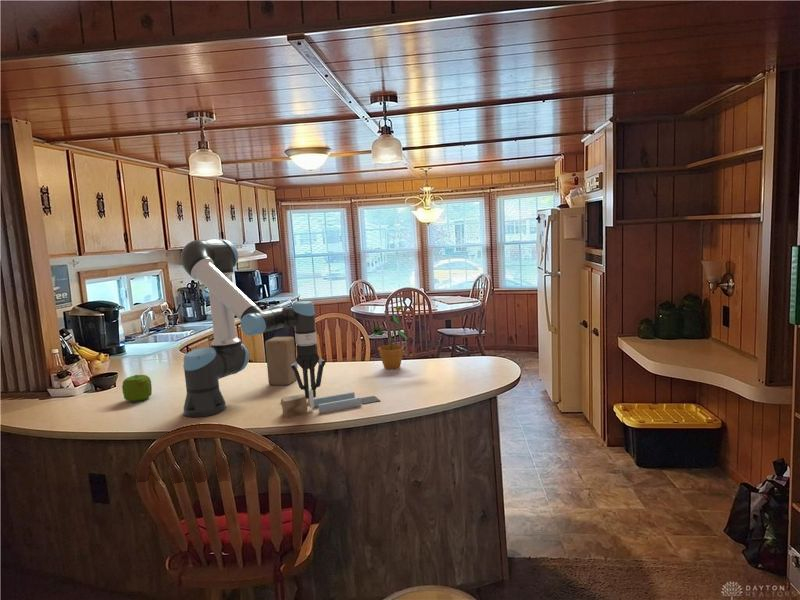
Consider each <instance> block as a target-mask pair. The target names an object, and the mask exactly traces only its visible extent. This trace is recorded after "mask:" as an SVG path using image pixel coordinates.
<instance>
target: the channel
mask: <svg viewBox="0 0 800 600" xmlns="http://www.w3.org/2000/svg"><path fill="white" fill-rule="evenodd" d="M355 396H356V395H355V392H354V391H351V392H345V393H340V394H339V393H338V394H333V395H326V396H321V397H315V398H314V407H313V408H316V407H317V408H318V414H322V413H328V412H334V411H339V410H345V409H350V408H355V407H361V406H362V403H361V398H362V397H361V396H359V397H355Z"/></svg>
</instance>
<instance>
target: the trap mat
mask: <svg viewBox="0 0 800 600" xmlns="http://www.w3.org/2000/svg"><path fill="white" fill-rule="evenodd" d="M377 402H379V403H380V402H381V400H380V399H379V398H378V397H377V396H375V395H371V396H364V397H361V405H367V404H372V403H377Z"/></svg>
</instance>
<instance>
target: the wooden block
mask: <svg viewBox="0 0 800 600" xmlns="http://www.w3.org/2000/svg"><path fill="white" fill-rule="evenodd" d="M264 343H265V356H266V357H265V358H266V364H267V366H266V367H267V368H266V369H267V380H268V384H269V385H271V386H289V385H291V384H292V383H293V382H295V381H297V379H296V376H295V373H294V370H293V369H292V368H291V367H290V365H291V364H293V363H295V362H296V358H297V357H296V349H295V348H296V346H295V337H294V336H274V337H272V338H270V339H267V340H265V342H264Z"/></svg>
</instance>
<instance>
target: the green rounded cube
mask: <svg viewBox="0 0 800 600" xmlns="http://www.w3.org/2000/svg"><path fill="white" fill-rule="evenodd" d="M152 386H153V385H152V380H151V378H150V376H149V375H145V374H135V375H130V376H129V377H126V378H125V379H123V381H122V385H121V389H122V394H123V398H124V400H125V401H128V402H132V403H133V402H134V403H135V402H143V401H145V400H148V398H149V397H151V395H152V392H153V391H152V389H153V388H152Z"/></svg>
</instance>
